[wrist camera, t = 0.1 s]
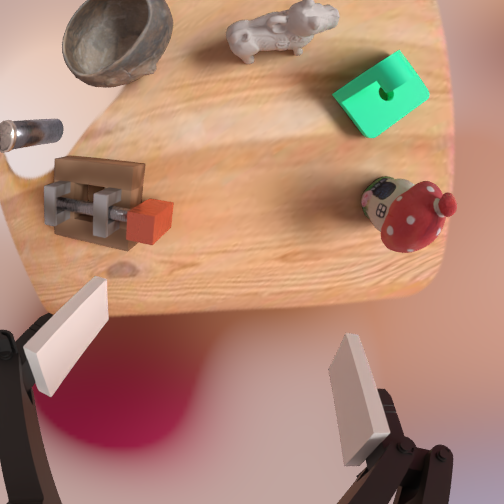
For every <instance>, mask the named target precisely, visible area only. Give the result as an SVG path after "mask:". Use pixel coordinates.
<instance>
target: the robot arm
mask: <svg viewBox="0 0 504 504" xmlns="http://www.w3.org/2000/svg"><path fill="white" fill-rule="evenodd" d="M107 321H108V301H107V279H105V278H101V277H98V276H94V277H93V278H92V279H91V280H90V281H89V282H88V283H87V284H86V285H85V286H83V287H82V288H81V289H80V290H79V291H78V292H77V293H76V294H75V295H74V296H73V297H72V298H71V299H70V300H69V301H68V302H67V303H66V304H64V305H63V306H62V307H61V308H60V309H59V310H58V311H57V312H56V313H55V314H54V315H52V314H50V313H48V314H45V315H43V316H41V317H40V318H39V319H38V320H37V321H36V322H35V323H34V324H33V325H31V327H29V329H27V330H26V331H25V333H23V335H22V336H20V338H19V339H18V340H17V341H16V342H15V340H14V337H13V334H12V333H11V332H10V331H7V330H0V462H1V467H2V472H3V477H4V481H5V486H6V490H7V494H8V499H9V502H8V503H7V504H62V503H61V500H60V497H59V495H58V492H57V489H56V486H55V483H54V480H53V477H52V474H51V471H50V467H49V464H48V460H47V456H46V453H45V449H44V445H43V441H42V436H41V432H40V427H39V423H38V417H37V412H36V406H35V400H34V394H33V390H32V386H33V385H34V383H36V385H37V388H38V390H39V391H40V392H42V393H44V394H46V395H48V396H50V397H52V395H53V394H54V392H55V391H56V389H57V388H58V387H59V385H60V384H61V382H62V381H63V379H64V378H65V377H66V375H67V374H68V373H69V371H70V370H71V368H72V367H73V365H74V364H75V363H76V362H77V360H78V359H79V357H80V356H81V355H82V353H83V352H84V351H85V349H86V348H87V347H88V345H89V344H90V343H91V342H92V340H93V339H94V338H95V336H96V335H97V334H98V332H99V331H100V330H101V329H102V327H103V326H104V324H105V323H106V322H107ZM328 370H329V376H330V381H331V387H332V392H333V398H334V404H335V410H336V416H337V422H338V428H339V434H340V441H341V447H342V454H343V462H344V466H360V465H361V464H362V463H363V462H364V461H365V460H366V463H367V467H366V468H365V469H364V470H363V471H362V472H361V473H360V474H359V475H357V477H358V478H357V479H356V481H355V482H354V483H353V485H352V486H351V487H350V488H349V490H348V491H347V492H346V493H345V495H344V496H343V497H342V498H341V499H340V500H339V502H338V503H337V504H388V503H389V501H390V500H391V498H392V496H393V495H394V493H395V491H396V490H397V492H396V495H395V499H394V502H393V504H448V502H449V495H450V488H451V479H452V469H453V454H452V452H451V450H450V449H448V447H446V446H444V445H436V446H435V447H433V448H432V449H431V450H426V449H421V448H417V447H416V445H415V444H414V442H413V441H412V440H411V439H410V438H408V437H405V436H404V433H403V430H402V427H401V424H400V421H399V418H398V415H397V413H396V410H395V407H394V403H393V401H392V398H391V396H390V395H389V393H388V392H387V391H386V390H385V389H377V387H376V384H375V381H374V378H373V375H372V372H371V369H370V366H369V363H368V360H367V358H366V355H365V352H364V349H363V346H362V343H361V341H360V338H359V335H358V334H350V333H345V335H344V338H343V340H342V342H341V344H340V346H339V349H338V350H337V352H336V355H335V357H334V359H333V361H332V363H331V365H330V367H329V369H328Z"/></svg>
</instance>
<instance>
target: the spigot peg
mask: <svg viewBox="0 0 504 504" xmlns="http://www.w3.org/2000/svg"><path fill="white" fill-rule="evenodd" d="M62 134H63V124H62V122H61V121H60V120H59V119H41V120H40V119H39V120H24V121H11V120H7V121H3V122H1V123H0V152H2V153H4V152H9V151H10V150H12V149H17V148H23V147H28V146H34V145H40V144H47V143H54V142H57V141H59V140H60V138H61V137H62Z"/></svg>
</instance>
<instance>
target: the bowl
mask: <svg viewBox="0 0 504 504" xmlns="http://www.w3.org/2000/svg"><path fill="white" fill-rule="evenodd" d="M172 29H173V19H172V15H171V12H170V9H169V7H168V5H167V3H166V2H165V0H87V1H85V3H83V4H82V6H80V8H79V9H78V10H77V11H76V12H75V14H74V15H73V17H72V18H71V20H70V21H69V23H68V26H67V28H66V31H65V33H64V37H63V42H62V53H63V57H64V60H65V63H66V65H67V66H68V68H69V69H70V71H71V72H72V73H73V74H74V75H75V77H76V78H78V79H80V80H81V81H83V82H84V83H86V84H88V85H91V86H95V87H116V86H120V85H124V84H128V83H130V82H132V81H135V80H137V79H139V78H140V77H142V76H144V75H149V74H153V73H154V71H155V70H156V63H157V62H158V60H159V59H160V58H161V56H162V55H163V53H164V51H165V49H166V47H167V45H168V43H169V41H170V38H171V34H172Z"/></svg>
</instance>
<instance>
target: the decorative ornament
mask: <svg viewBox="0 0 504 504" xmlns="http://www.w3.org/2000/svg"><path fill="white" fill-rule="evenodd" d="M361 204H362V208H363V211H364V214H365V215H366V217H367V218H369V219H370V220H371V222H372V224H373V225H374V226H375V228H376V229H378V230H379V231H380V232H381V239H382V242H383V243H384V244H385V246H386V247H387V248H388V249H390V250H393V251H396V252H402V253H409V252H414V251H417V250H419V249H422V248H424V247H426V246H427V245H429V244H430V243H432V242H433V241H434V240H435V239H436V238H437V237H438V235H439V234H440V232H441V230H442V228H443V225H444V222H445V218H446V217H450V216H452V215H453V214H454V213H455V212H456V209H457V204H456V200H455V197H454V196H453V195H452V194H451V193H445V194H442V192H441V190H440V189H439V188H438V186H436V185H435V184H434V183H432V182H429V181H423V182H420V183H418V184H416V185H414V184H413V183H411V182H410V181H408V180H405V179H394V178H391V177H381V178H379V179H377V180H376V181H374V182H373V183H372V184H371V185H370V186H369V187H368V188H367V189H366V190H365V191H364V193H363V195H362V198H361Z"/></svg>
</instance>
